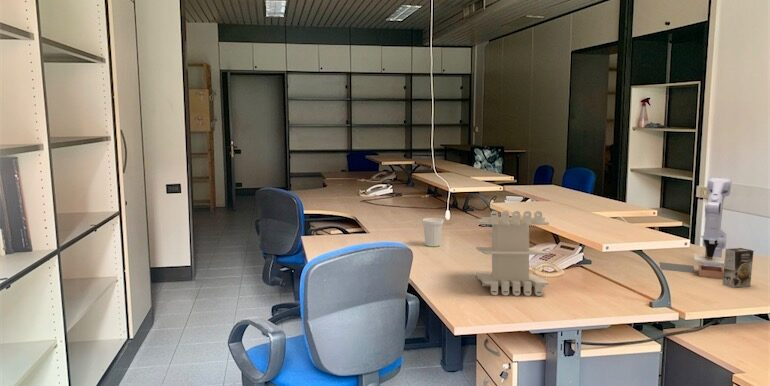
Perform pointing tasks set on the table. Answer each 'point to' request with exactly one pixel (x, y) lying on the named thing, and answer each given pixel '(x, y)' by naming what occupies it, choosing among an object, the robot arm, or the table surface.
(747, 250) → the coffee box
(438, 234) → the cup
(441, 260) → the table surface
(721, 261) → the lid
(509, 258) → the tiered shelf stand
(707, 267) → the open box
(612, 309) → the table surface
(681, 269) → the mat
